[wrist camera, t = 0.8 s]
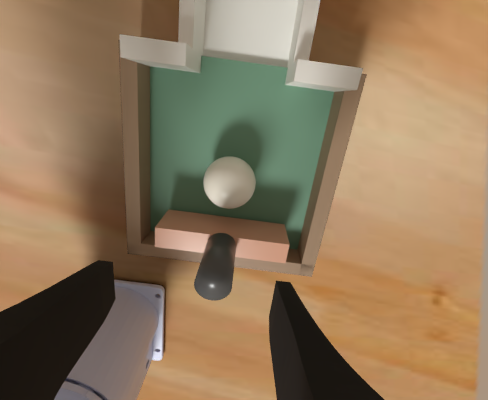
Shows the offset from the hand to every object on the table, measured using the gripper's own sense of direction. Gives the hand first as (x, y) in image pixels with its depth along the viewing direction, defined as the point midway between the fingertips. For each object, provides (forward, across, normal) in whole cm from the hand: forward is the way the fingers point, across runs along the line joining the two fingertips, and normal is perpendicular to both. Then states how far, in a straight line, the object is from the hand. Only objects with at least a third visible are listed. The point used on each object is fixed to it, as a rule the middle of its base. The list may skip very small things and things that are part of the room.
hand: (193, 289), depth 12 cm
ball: (+8, -1, -3) cm, 8 cm away
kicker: (+9, -1, +1) cm, 9 cm away
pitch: (+10, -1, -6) cm, 12 cm away
